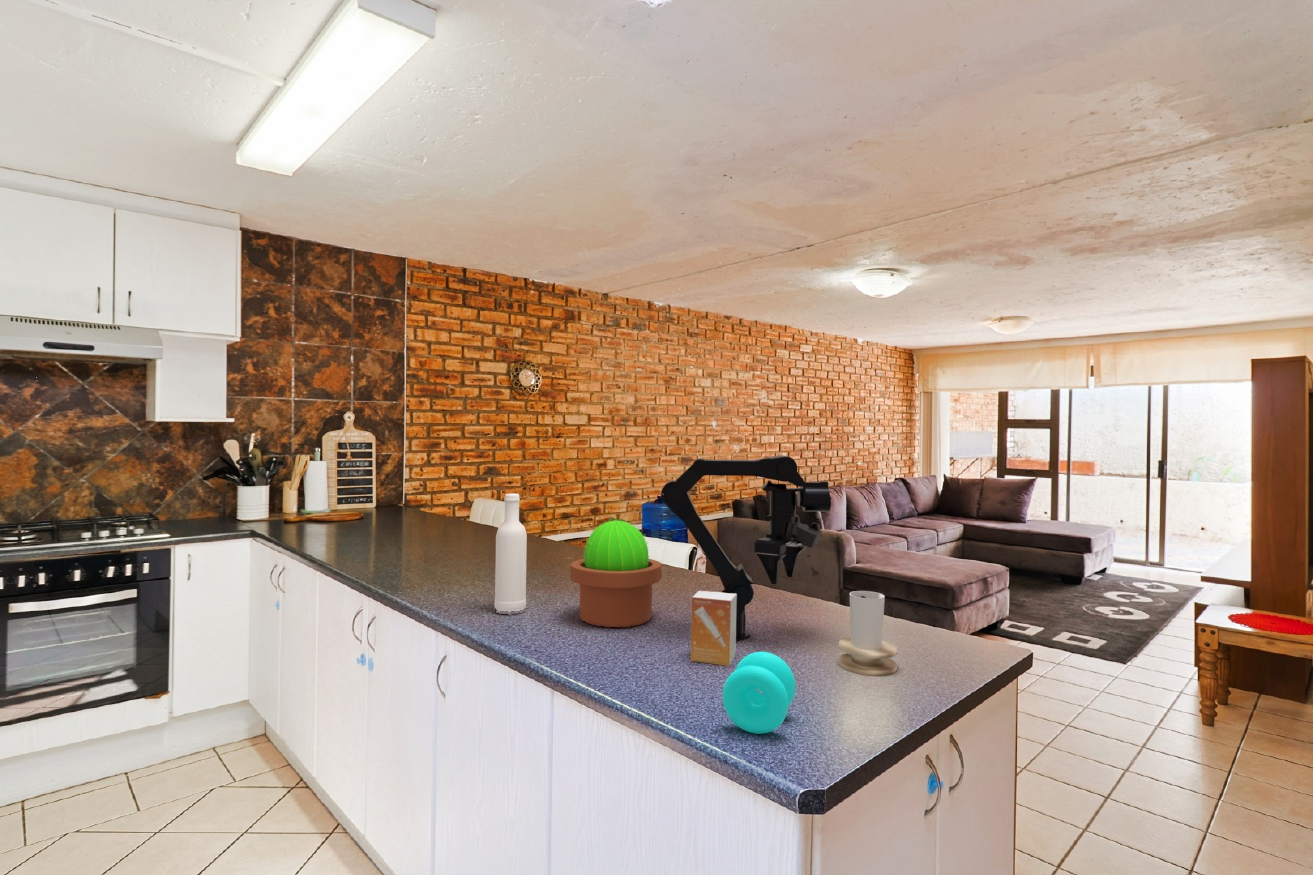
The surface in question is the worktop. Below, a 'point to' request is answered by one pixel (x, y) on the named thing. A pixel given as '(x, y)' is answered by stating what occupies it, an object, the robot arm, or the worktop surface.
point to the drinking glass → (866, 619)
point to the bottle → (511, 559)
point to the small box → (713, 627)
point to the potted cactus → (616, 576)
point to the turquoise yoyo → (748, 702)
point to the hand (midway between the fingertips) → (782, 580)
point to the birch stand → (868, 659)
